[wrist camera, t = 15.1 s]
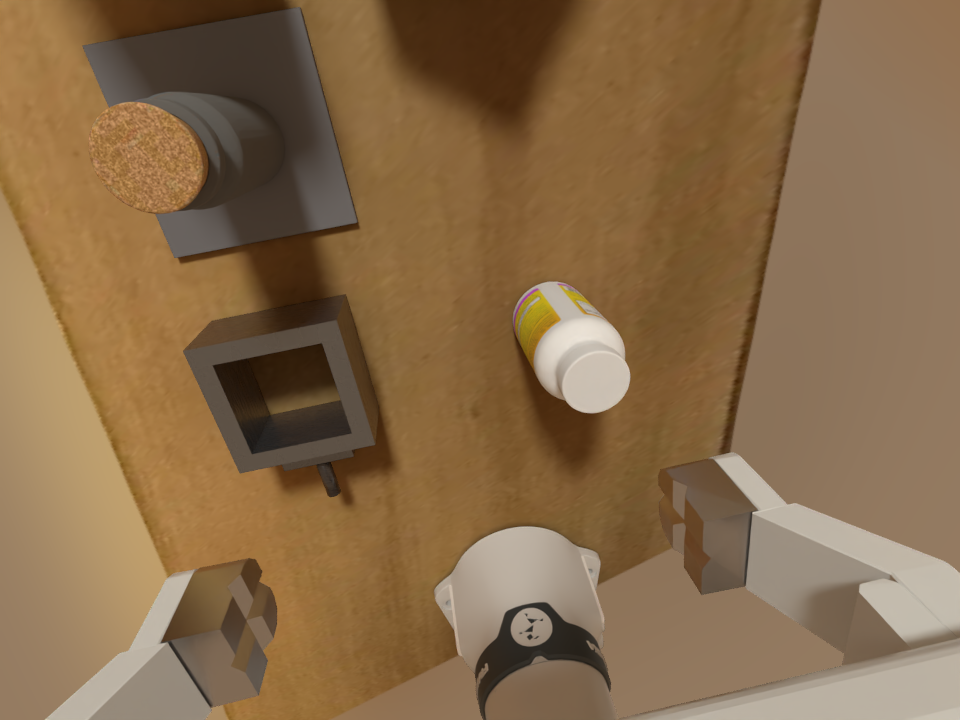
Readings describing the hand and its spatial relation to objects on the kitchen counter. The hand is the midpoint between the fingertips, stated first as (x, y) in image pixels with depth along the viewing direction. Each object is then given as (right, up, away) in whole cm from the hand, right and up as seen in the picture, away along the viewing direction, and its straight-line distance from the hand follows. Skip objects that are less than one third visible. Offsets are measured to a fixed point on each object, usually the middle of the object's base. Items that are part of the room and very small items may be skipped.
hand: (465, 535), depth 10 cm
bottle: (-16, +19, +26) cm, 36 cm away
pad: (-17, +19, +27) cm, 37 cm away
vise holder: (-15, 0, +36) cm, 39 cm away
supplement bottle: (+6, +7, +36) cm, 37 cm away
